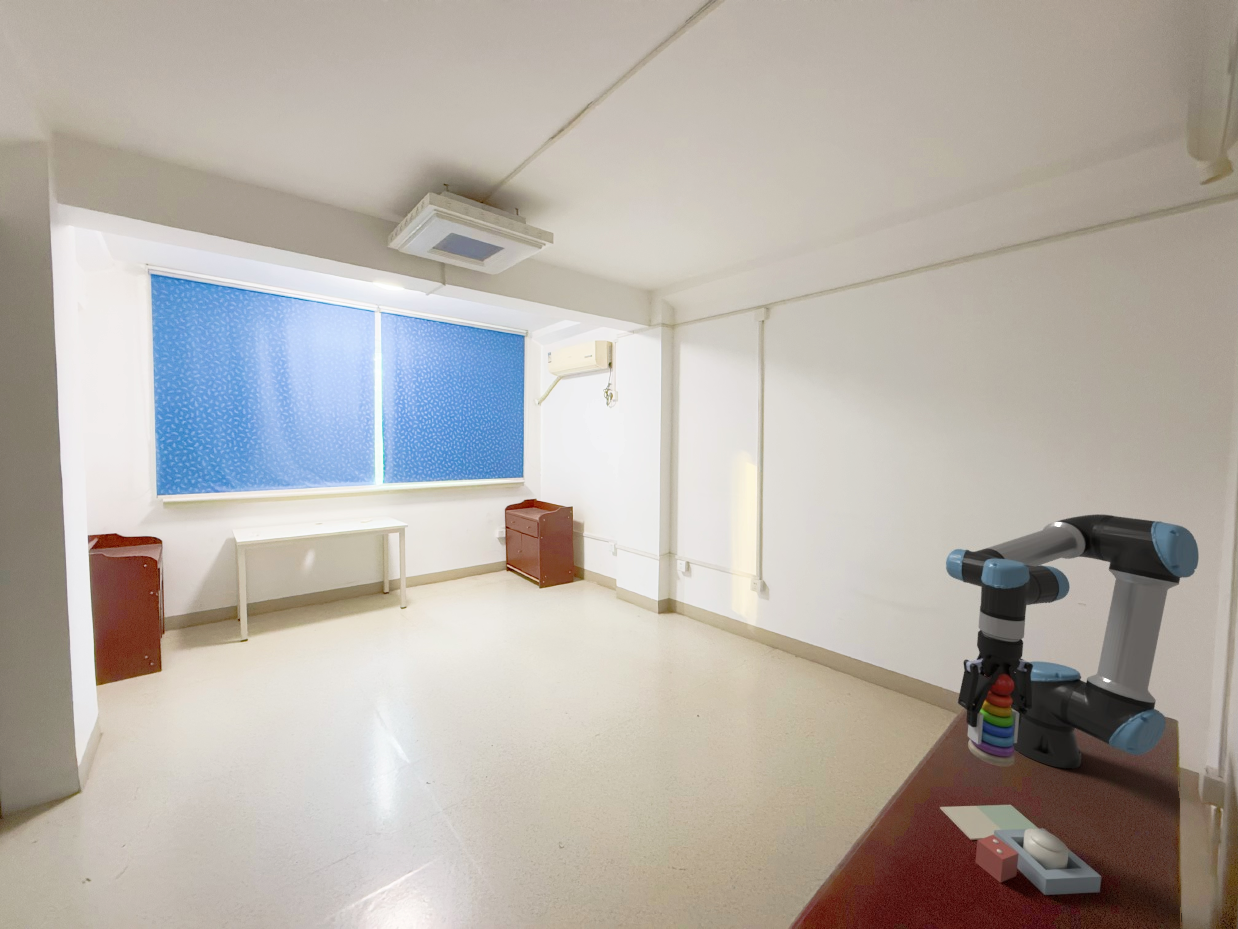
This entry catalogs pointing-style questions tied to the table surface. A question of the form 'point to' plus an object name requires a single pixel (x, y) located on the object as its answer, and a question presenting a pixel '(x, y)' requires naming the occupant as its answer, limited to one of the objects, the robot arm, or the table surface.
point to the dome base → (1052, 881)
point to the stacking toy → (997, 725)
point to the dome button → (1045, 849)
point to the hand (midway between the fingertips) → (992, 739)
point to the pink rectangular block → (997, 858)
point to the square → (971, 821)
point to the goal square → (1006, 817)
